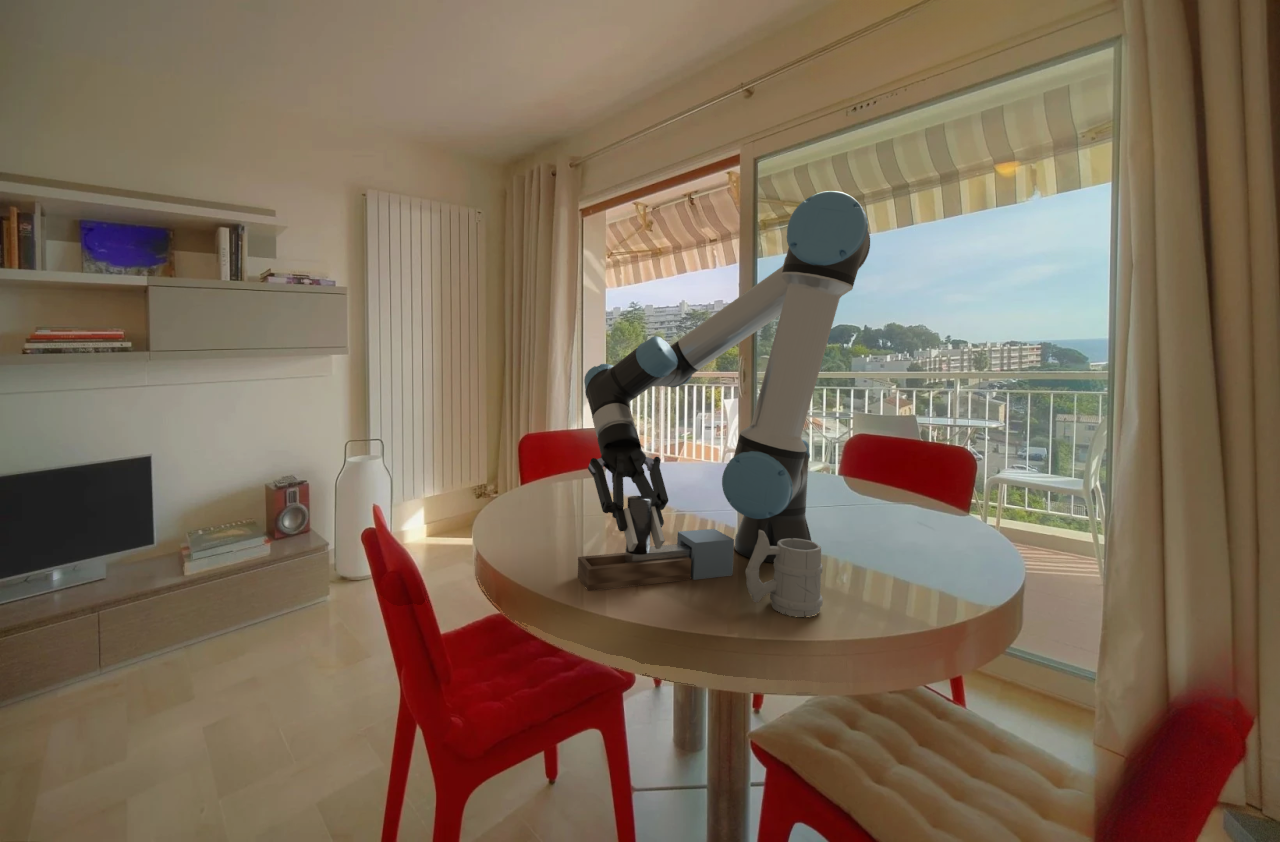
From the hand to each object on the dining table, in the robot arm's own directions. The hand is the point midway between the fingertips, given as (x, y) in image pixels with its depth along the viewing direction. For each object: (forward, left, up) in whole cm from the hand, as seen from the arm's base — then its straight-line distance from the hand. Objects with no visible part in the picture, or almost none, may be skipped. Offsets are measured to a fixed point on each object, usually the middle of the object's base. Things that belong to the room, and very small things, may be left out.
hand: (646, 545), depth 90 cm
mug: (-16, +14, -7) cm, 23 cm away
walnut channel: (+1, -4, -7) cm, 8 cm away
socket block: (-13, -4, -7) cm, 15 cm away
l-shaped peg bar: (-6, -4, -5) cm, 9 cm away
